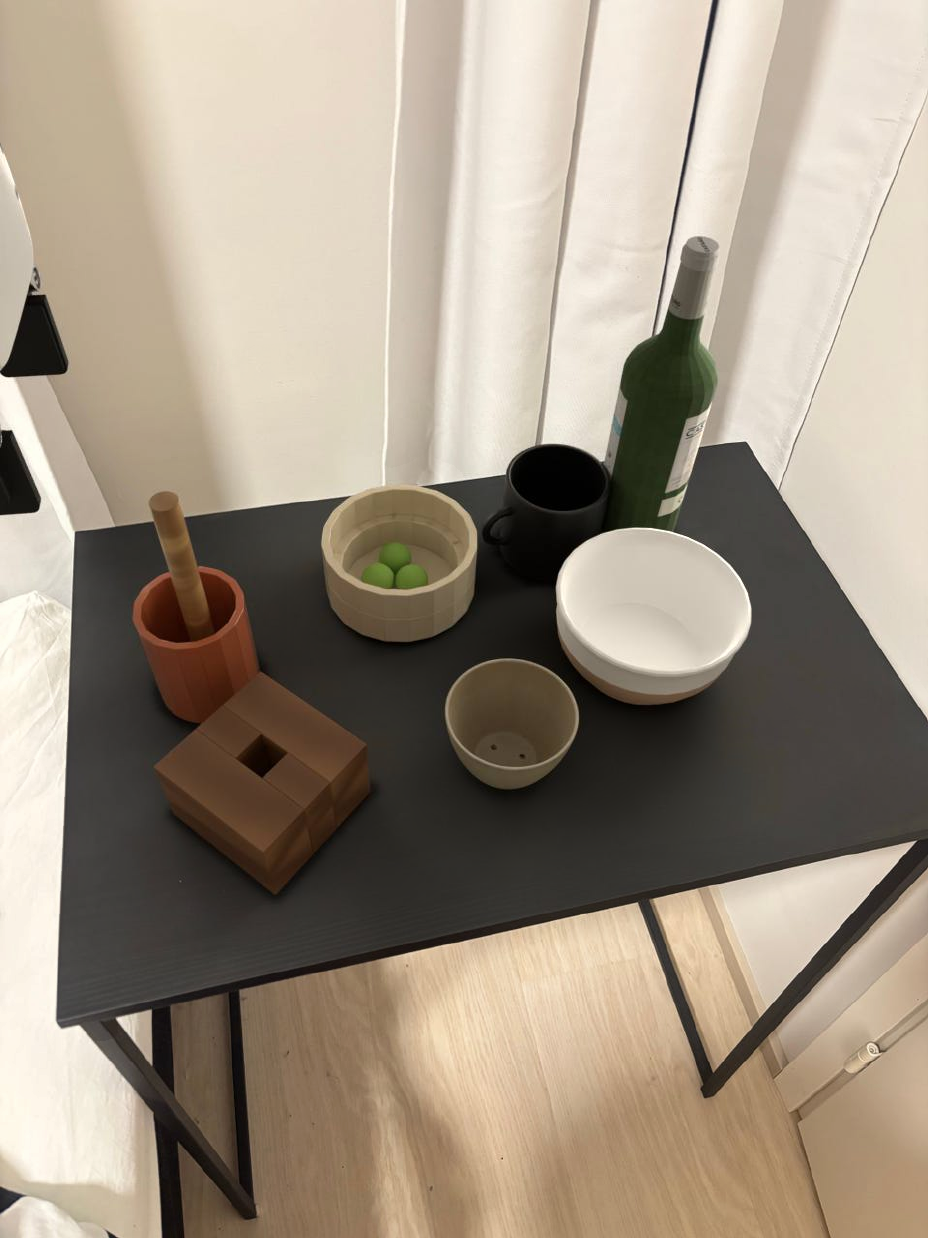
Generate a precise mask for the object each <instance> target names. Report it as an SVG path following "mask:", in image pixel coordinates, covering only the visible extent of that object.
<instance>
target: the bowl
mask: <svg viewBox="0 0 928 1238" xmlns="http://www.w3.org/2000/svg"><path fill="white" fill-rule="evenodd" d="M555 593H556V603H557V604H556V610H555V614H556V625H557V635H558V639H559V642H560V645H561V649H562V650H563V651H564V653H565V655H566V656H567V659H568V660H569V662H570V663H571V665H572V666H573V668H575V670H576V671H577V672H578V673H579V674H580V675H581V676H582V678H583V679H584V680H586V681H587V682H589V683H590V684H591V685H592V686H593V687H595V688H596V689H597V690H599V691H600V692H601V693H603V694H604V695H606V696H608V697H610V698H612V699H614V700H617V701H620V702H623V703H627V704H631V705H638V706H639V705H640V706H651V705H664V704H670V703H675V702H678V701H682V700H686V699H687V698H690V697H693V696H696V695H698V694H699V693H701V692H702V691H704V690H706V689H707V688H709V687H710V686H711V685H712V684H713V683H714V682H715V681H717V679H719V678H720V676H721V675H722V673H723V672H724V671H725V670H726V669H727V667H728V666H729V664H730V663H731V661H732V660H733V658H734V655H735V654H736V653H737V652H738V651H739V650H740V649H741V647H742V646H743V644H744V643H745V641H746V640H747V638H748V635H749V632H750V628H751V626H752V605H751V601H750V596H749V593H748V590H747V588H746V587H745V585H744V583H743V581H742V579H741V577H740V576H739V575H738V573H737V572H736V571H735V570H734V568H733V567H732V566H731V564H729V563H728V562H727V561H726V560H725V559H724V558H723V557H722V556H720V555H719V554H718V553H717V552H715V551H714V550H713V549H711V548H709V547H707V546H706V545H705V544H703V543H701V542H700V541H697V540H694V539H692V538H690V537H688V536H686V535H682V534H679V533H676V532H670V531H664V530H658V529H653V528H627V529H617V530H614V531H610V532H606V533H602V534H600V535H598V536H596V537H593V538H591V539H589V540H587V541H586V542H584V543H583V544H582V545H580V546H579V547H578V548H576V549H575V550H574V551H573V552H572V553H571V554H570V556H569V557H568V558H567V559H566V560H565V562H564V564H563V566H562V568H561V570H560V572H559V574H558V579H557V581H556V585H555Z"/></svg>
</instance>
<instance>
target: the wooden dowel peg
mask: <svg viewBox="0 0 928 1238" xmlns="http://www.w3.org/2000/svg"><path fill="white" fill-rule="evenodd" d="M148 507H149V511H150V514H151V517H152V520H153V524H154V527H155V530H156V533H157V537H158V541H159V542H160V546H161V550H162V553H163V556H164V560H165V562H166V566H167V569H168V572H169V573H170V576H171V579H172V582H173V586H174V589H175V592H176V595H177V599H178V602H179V605H180V608H181V612H182V615H183V618H184V621H185V625H186V628H187V631H188V634H189V638H190V641H191V642H197V641H199V640H202V639H204V638H207V637H209V636H212V635H214V634H216V633H215V630H214V626H213V622H212V619H211V615H210V611H209V608H208V604H207V600H206V596H205V593H204V589H203V585H202V582H201V578H200V574H199V571H198V563H197V559H196V556H195V552H194V549H193V545H192V541H191V537H190V534H189V530H188V527H187V522H186V519H185V516H184V511H183V508H182V505H181V501H180V497H179V496H178V494H177V493H175V492H173V491H169V490H162V491H158V492H156V493H154V494H152V495H151V496H150V497H149V499H148Z"/></svg>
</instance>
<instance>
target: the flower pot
mask: <svg viewBox="0 0 928 1238" xmlns="http://www.w3.org/2000/svg"><path fill="white" fill-rule="evenodd" d="M579 712H580V711H579V706H578V704H577V701H576V698H575V695H574V694H573V692H572V691H571V689H570V688H569V686H568V685H567V684H566V683H565V682H564V681H563V679H561V677H559V676H558V675H557V674H556V673H554V672H553V671H552V670H550V669H549V668H547V667H545V666H543V665H540V664H538V663H536V662H532V661H529V660H525V659H517V658H497V659H492V660H487V661H484V662H481V663H478V664H476V665H474V666H473V667H471V668H469V669H467V670H466V671H464V673H462V674H461V675H460V676H459V677H458V678H457V679H456V680H455V682H454V683H453V684H452V686H451V688H450V689H449V691H448V693H447V696H446V700H445V705H444V717H445V718H444V719H445V725H446V729H447V733H448V736H449V740H450V742H451V745H452V747H453V749H454V752H455V753H456V755H457V757H458V758H459V760H460V762H461V763H462V764H463V766H465V768H466V769H467V771H469V772H470V773H471V774H472V776H474V778H477V779H478V780H479V781H481V782H482V783H484V784H486V785H488V786H489V787H493V788H495V789H500V790H516V789H520V788H521V789H522V788H525V787H527V786H530V785H532V784H534V783H536V782H538V781H539V780H541V779H542V778H544V777H545V776H546V775H548V774H549V773H550V772H551V771H553V769H555V768H556V767H557V765H558V764H560V762H561V761H562V759H564V757H565V756H566V754H567V753H568V751H569V749H570V747H571V745H572V743H573V742H574V740H575V738H576V735H577V732H578V730H579V729H578V728H579V724H580V723H579V722H580V714H579Z"/></svg>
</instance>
